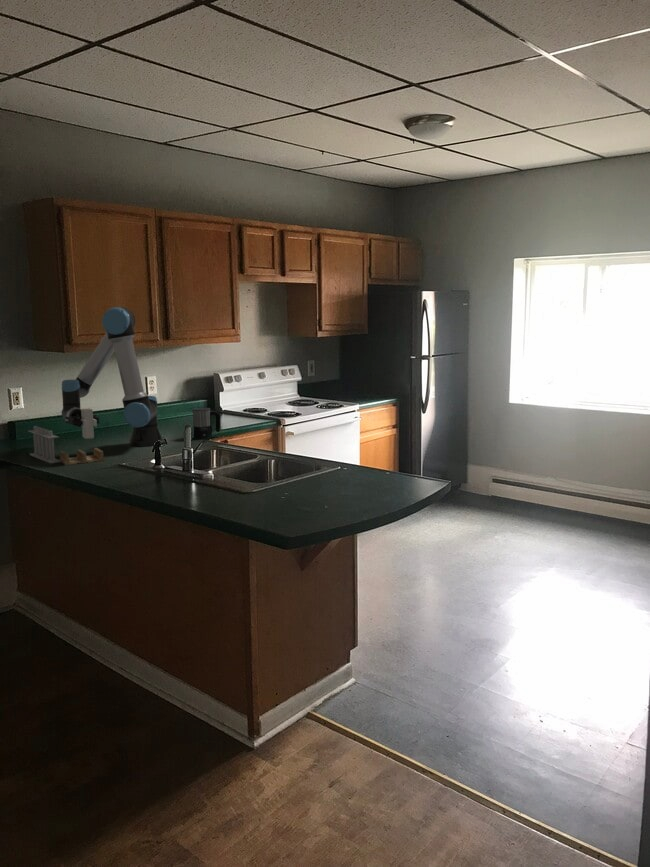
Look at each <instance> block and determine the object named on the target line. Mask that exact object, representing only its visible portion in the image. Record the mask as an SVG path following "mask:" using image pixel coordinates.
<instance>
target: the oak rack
mask: <svg viewBox="0 0 650 867" xmlns="http://www.w3.org/2000/svg"><path fill="white" fill-rule="evenodd" d="M59 460H61V462H60V463H62V464H63V465H64V466H68V465H69V466H70V465H76V464H77V463H79V464H86V462H88V463H95V462H94V461H97V462H104V461H105V458H104V451H103V450H102V449H100V448H98V447H94V448H93V454H91V455H87V452H85V451H83V450H82V449H76V456H73V457H70V454H68V453H67V452H65V451H59Z"/></svg>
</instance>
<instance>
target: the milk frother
mask: <svg viewBox="0 0 650 867" xmlns="http://www.w3.org/2000/svg"><path fill="white" fill-rule="evenodd" d="M191 411H192V422H193V423H192V424H193V437H192V438H193V439H195V440H206V439H211V438H212V437H213V436H212V434H213V431H214V428H213V427H212V415H213V416H215V432H216V433H220V431H221V414H220V413H219V412H218V411H216V410H211V408H210V407H195V408H191Z"/></svg>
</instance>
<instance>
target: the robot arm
mask: <svg viewBox="0 0 650 867" xmlns="http://www.w3.org/2000/svg"><path fill="white" fill-rule="evenodd" d="M101 321H102V322H101V323H102V327H103V329H104V330H105V332H106V333H105V334H104V336H103V337H102V338H101V340H100V342H99V343H98V344H97V346H96V348H95V349H94V351H93V352H92V354H91V355H90V357H89V358H88V360H87V361H86V363H85V365H84V366H83V367H82V369H81V370H80V372H79V373H78V375H77V377H76V378H75V379H63V380H62V381H61V395H62V410H61V413H60V414H61V416H62V418H63V419H64V421H65V423H66V424H69V425H72V426H75V427H78V428H82V426H83V427H87V423H86V420H84V419H82V416H81V409H82V408H81V398H84V397H86V396H87V395H88V394H89V393H90V389H91V388H92V386H93V384H94V383H95V381H96V379H97V378H98V376H100V373H101V371H102V370H103V369H104V368H105V366H106V364H107V363H108V361H109V360H110V359H111V357H112V355H113V354H114V353H115V359H116V362H117V367H118V371H119V375H120V380H121V385H122V388H123V389H122V390H123V394H124V397H122V405H123V408H124V409H123V413H122V415H123V420H124V421H125V423H127V425H129V426H130V427H132V431H131V434H130V437H129V445H130V446H133V447H152V446H153V447H154V446H155V445H154V443H155V442H156V441H158V440H162V441H163V437H162V434H161V432H160V429H159V423H158V422H159V421H158V419H159V418H158V399H157V396H155V395H148V393H146V392H145V391H144V386H143V383H142V382H143V381H142V378H141V372H140V369H139V364H138V359H137V354H136V349H135V346H134V338H135V337H136V334H135V330H134V328H135V325H136V317H135V314H134V313H133V311H132V310H130V309H128V308H126V307H120V306H116V307H115V306H114V307H112V308H111V307H110V308H109V309H108V310H106V311H105V312H104V313H103V315H102V318H101ZM99 424H100V418H99V416H97V414H94V415H93V427H98V425H99Z"/></svg>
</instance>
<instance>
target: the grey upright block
mask: <svg viewBox="0 0 650 867" xmlns="http://www.w3.org/2000/svg"><path fill="white" fill-rule="evenodd" d="M93 410H94V409H92V408H81V416H82V419H84V420H86V423H87V427H83V426H81V431H82V432H81V434H82V435H81V436H82V438H84V439H88V440H89V439H94V438H95V432H94V431H95V430H94V427H95V426H93V414H94V412H93Z"/></svg>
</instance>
